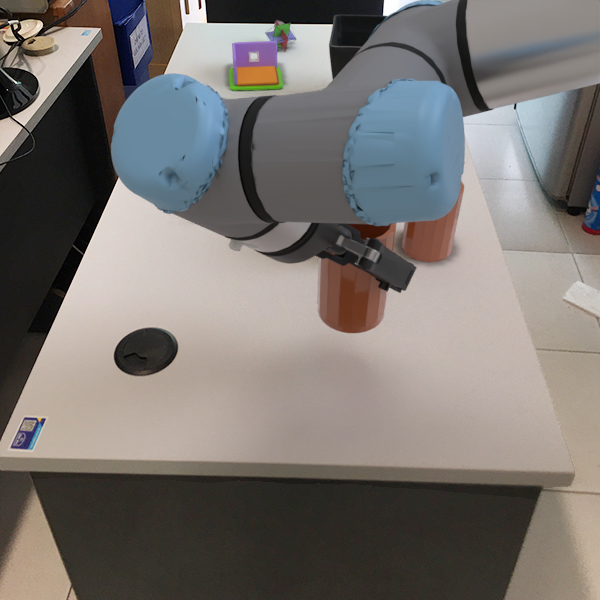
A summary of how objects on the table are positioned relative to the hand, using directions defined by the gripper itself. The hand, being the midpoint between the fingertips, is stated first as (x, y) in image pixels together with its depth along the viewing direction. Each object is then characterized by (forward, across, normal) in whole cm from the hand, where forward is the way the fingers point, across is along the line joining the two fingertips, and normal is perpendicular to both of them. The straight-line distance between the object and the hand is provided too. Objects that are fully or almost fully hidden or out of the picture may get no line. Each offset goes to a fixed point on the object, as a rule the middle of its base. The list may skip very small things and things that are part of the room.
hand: (370, 265), depth 69 cm
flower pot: (+54, -36, +32) cm, 72 cm away
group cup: (+28, -4, +7) cm, 29 cm away
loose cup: (0, 0, -5) cm, 5 cm away
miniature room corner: (+53, -66, +31) cm, 90 cm away
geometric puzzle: (+66, -73, +44) cm, 108 cm away
